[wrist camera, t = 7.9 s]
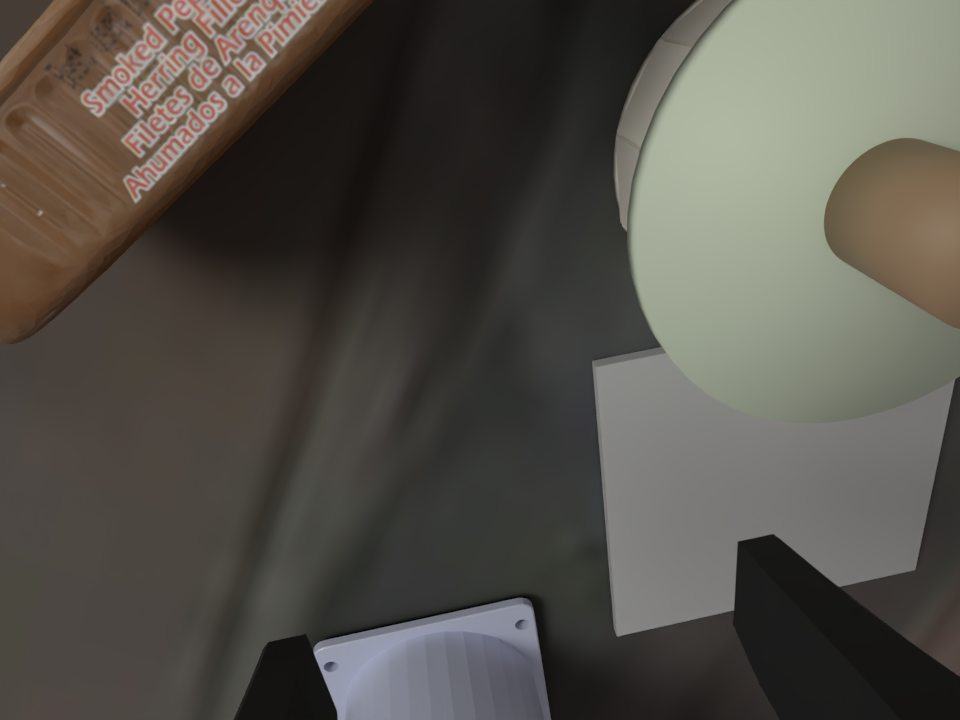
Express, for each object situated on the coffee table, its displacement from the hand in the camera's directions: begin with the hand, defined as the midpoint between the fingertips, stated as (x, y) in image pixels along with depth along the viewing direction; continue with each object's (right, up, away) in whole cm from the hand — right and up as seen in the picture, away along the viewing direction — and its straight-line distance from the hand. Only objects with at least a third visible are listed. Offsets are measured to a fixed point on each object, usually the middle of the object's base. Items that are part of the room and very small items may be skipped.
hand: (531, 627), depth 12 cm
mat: (+9, 0, +13) cm, 16 cm away
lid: (+8, +8, +4) cm, 12 cm away
